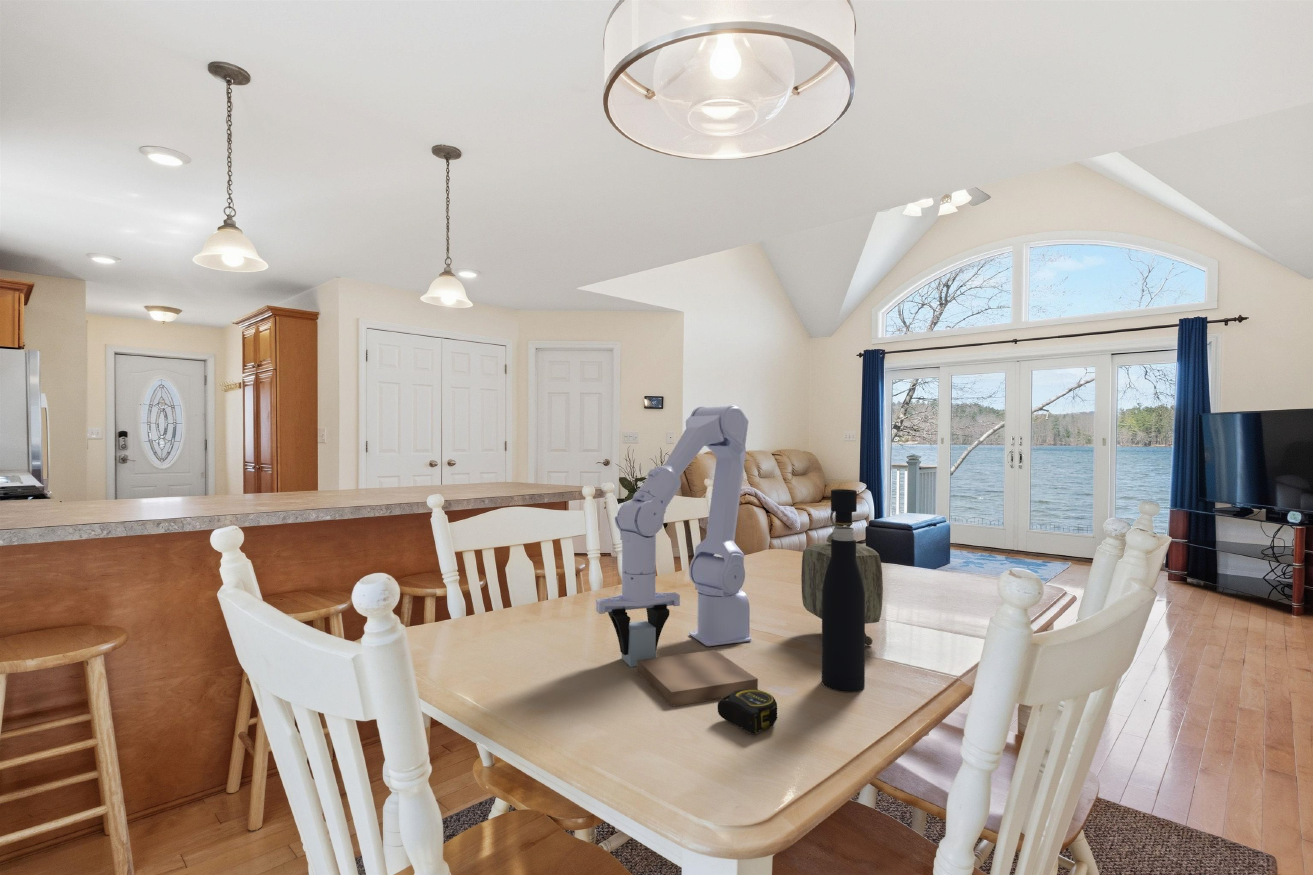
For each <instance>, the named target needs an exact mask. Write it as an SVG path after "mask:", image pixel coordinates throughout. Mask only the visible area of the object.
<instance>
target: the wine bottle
mask: <svg viewBox="0 0 1313 875" xmlns="http://www.w3.org/2000/svg"><path fill="white" fill-rule="evenodd" d="M857 492H858V491H857V490H856V489H848V488H847V489H843V488H841V489H840V488H837V489H834V488H833V489H830V512H831V511H834V513H835V514H834V516H835V519H834V520H835V521H834V522H835V524H836V525H841V526H850V525H851V526H853V513H856V512H858V510H857V509H858V508H857V507H858V506H857V504H858V503H857V502H858V500H857V498H858V496H857ZM851 526H850V527H835V526H833V529H832V532H834V534H833V537H834V539H832V540H831V558H830V561H829V564H828V567H827V570H826V573H825V577H824V582H823V588H822V619H821V683H822V685H823V686H825V687H826V688H828V689H830V690H834V691H837V692H843V693H857V692H860V691H862V690H864V689H865V684H866V683H865V679H866V678H865V676H866V674H865V673H866V672H865V671H866V669H865V668H866V667H865V666H866V665H865V664H866V648H865V647H866V644H865V634H866V624H865V590H864V583H863V579H862V574H861V571H860V568H859V565H858V562H857V559H856V543H857V541H856V540H855V538H856V537H855V532H856V531H855V529H854V527H851Z"/></svg>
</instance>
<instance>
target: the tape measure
mask: <svg viewBox="0 0 1313 875" xmlns="http://www.w3.org/2000/svg"><path fill="white" fill-rule="evenodd" d="M717 713H718V715H719V716H720V717H721V718H722V719H724V721H727V722H729V723H731V724H732V725H735V726H737V727H738V728H740V729H743V730H744V731H745V732H747V733H749V734H752V735H755V734H758V733H759V732H760V731H764V730H768V729H771V728H772V727H773V726H774V725H775V723H776V721H777V720H778V702H777V701H776V698H775V697H774V696H773V695H772V694H770V693H768V692H767V691H765V690H760V689H758V690H756V689H742V690H737V691H734V692H733V693H731V694H730V695H728V696H726V697H724V698H720V700H719V701H718V703H717Z"/></svg>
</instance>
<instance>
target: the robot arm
mask: <svg viewBox="0 0 1313 875" xmlns="http://www.w3.org/2000/svg"><path fill="white" fill-rule="evenodd" d="M748 427H749V420H748V418H747V416H746V415H745V413H744V412H743V409H741V407H740V406H738V405H735V404H730V405H728V406H727V405H726V406H707V407H706V406H698V407H696V408H694V409H693V411H692V412H691V414H690V416H689V417H688V418H687V419H686V420H685V430H684V431H683V433H682V435H681V436H680V438H679V440H678V441H677V443H676V444H675V446H674V448H673V449H672V451H671V453H670V454H669V456H668V458H667V460H666V461H665V463H664V464H663V465H658V466H655V467H654V468H650V469H649V471H648V472H647V477H646V479H645V480H644V482H643V483H642V485H641V486H640V487H639V489H638V490H637V491H635V493H633V497H632V499H630V500H627V501H625V502H623V504H622V505H620V507H619V509H618V511H617V515H616V516H615V517H614V523H615V526H616V528H617V529H618V530H619V534H620V541H621V542H622V543H621V595H616V596H611V597H607V598H600V599H599V598H598V599H595V611H596V612H597V613H598V614H599V615H603V614H606V613H608V616H609V618H610V621H611V623H612V625H613V627H614V630H615V634H616V636H617V640H618V645H619V651H620V653H621V655H622V654H623V655H628V648H629V647H628V632H629V624H630V622H631V617H630V616H629V615H628V612H627V611H628V610H629V611H630V610H639V609H640V610H641V609H646V616H647V622H649V623H650V624H651V625H653V626H654V627H655V628H656V650H657V648H658V644H659V639H660V636H661V633H662V631H663V628H664V626H665V624H666V622H667V620H668V619H669V617H670V609H669V608H668V607H670V606H673V607H680V606H681V594H679V593H677V592H656V584H657V583H656V581H657V580H656V576H657V575H656V572H657V571H656V566H657V565H656V562H657V560H656V556H657V554H656V553H657V552H656V548H657V546H656V545H657V543H656V542H657V533H659V532H660V530H662V528H663V525H664V520H665V514H666V512H667V507H668V506H669V505H670V503H671V502H672V500H673V498H674V497H675V496H676V495H677V493H678V491H679V490H680V488H681V487H682V480H681V475H682V474H683V473H684V471H685V470H686V469H687V468H688V467H689V466H690V464H691V463H692V462H693V461H694V459H695V458H696V457H697V456H698V454H699V453H700V452H701V450H702V449H703V448H704V447H705V448H707V449H708V450H710V451H711V452H712V453H713V455H714V456H715V457H716V460H715V468H714V476H713V482H712V483H713V484H712V491H711V497H710V506H709V512H708V513H709V514H708V520H707V528H706V534H705V538H704V539H703V540H702V541H701V542H700V543H698V544H697V545H696V546H695V550H694V555H693V558H692V559H691V561H690V564H689V569H688V575H689V579H690V581H691V582H692V583H693V584H694V587H695V588H694V590H696V591H697V630H694V631H693V630H692V631H689V636H691V637H692V638H694V639H696V640H697V641H698V642H700V643H702V644H703V645H704V646H706V647H712V646H713V647H714V646H721V645H729V644H736V643H744V642H752V637H751V636H750V634H751V633H750V632H751V631H750V628H751V627H750V621H751V620H750V619H751V618H750V615H751V613H750V612H751V611H750V610H751V609H750V602H749V597H748V595H747V594H746V592H745V591H743V590H742V587H743V585H744V583H745V579H746V570H745V562H744V561H745V554H744V552H743V551H742V550H741V548H739V546H738V545H737V544H736V542H735V539H736V531H737V524H738V523H737V522H738V516H739V508H740V500H741V492H742V484H743V478H744V477H743V476H744V469H745V462H746V455H747V454H746V450H747V448H746V444H747V443H746V442H747V437H748V429H749V428H748ZM716 555H719V556H716Z"/></svg>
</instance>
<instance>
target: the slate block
mask: <svg viewBox="0 0 1313 875" xmlns="http://www.w3.org/2000/svg"><path fill="white" fill-rule="evenodd" d="M628 647H629V648H628V655H623V654H622V653H621V660H623V661H624V662H625V664H627V666H629V667H630V668H633V667H637V660H642V659H649V658H657V657H656V654H657V652H656V651H657V649H656V628H655V627H654V626H653V625H651V624H650V623H649V622H648V620H641V621H640V620H639V621H632V622H631V621H630V624H629V632H628Z"/></svg>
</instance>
